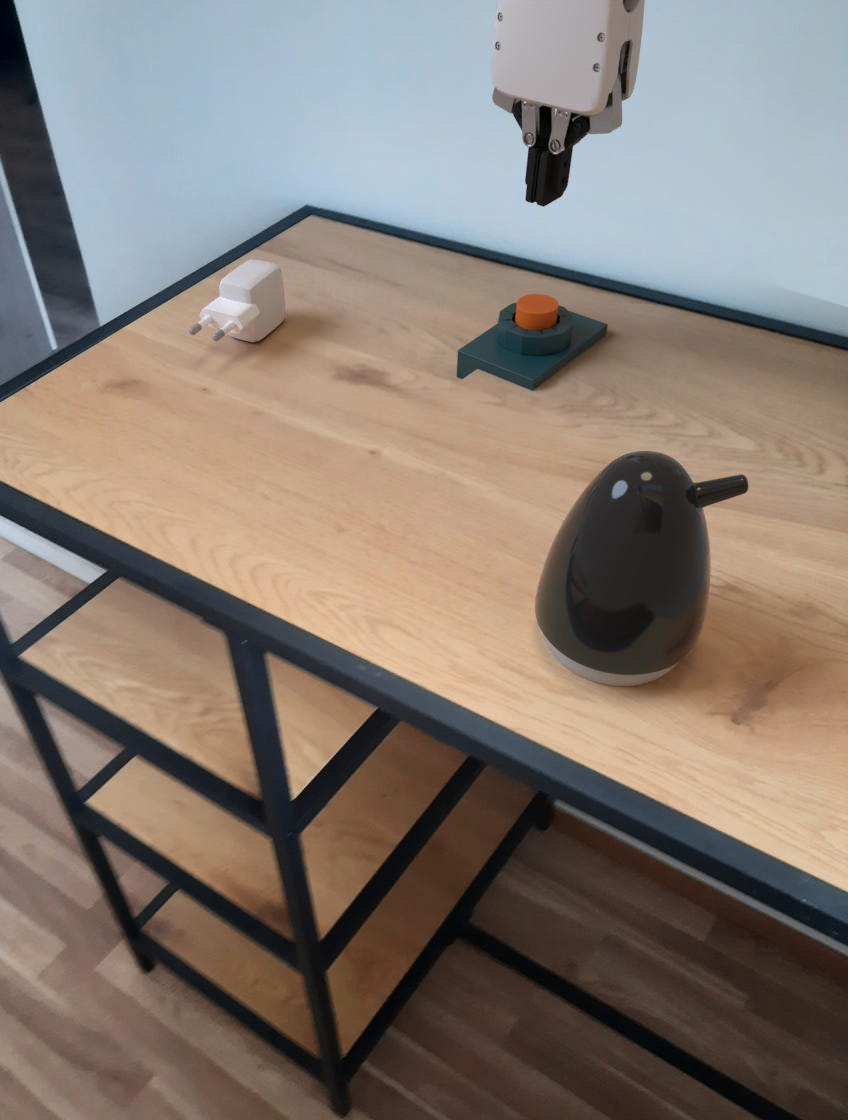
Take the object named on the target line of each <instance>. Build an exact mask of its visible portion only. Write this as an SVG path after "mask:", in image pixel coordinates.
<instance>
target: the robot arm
mask: <svg viewBox="0 0 848 1120" xmlns="http://www.w3.org/2000/svg"><path fill="white" fill-rule="evenodd" d="M645 2H646V0H497V5H496V11H495V19H494V25H493V35H492V46H491V59H490V76H491V78H490V79H491V83H492V85H493V86H494V88H493V92H492V95H491V98H492V102H493V104H494V105H495V106H497V107H499V108H500V109H502V110H503V111H506V112H507V113H509V114H512V116H513V118H514V119H515V122H516V123H517V125H518V127H519V128H520V130H521V135H522V136H521V139H522V143H523V144H524V146H526V147H527V148H528V150H527V158H526V169H525V178H524V182H525V185H526V187H525V188H526V189H525V202H527V203H530V204H534V203H536V205H537V206H540V207H544V208H545V207H546V206H547V205H550V204H551V203H552V202H554V201H557V200H558V199H560V198H561V197H563V196H564V193H565V191H566V190H567V188H568V185H569V180H570V172H571V167H572V166H571V164H572V157H573V150H574V147H575V146H576V145H577V144H579V143H580V142H581V141H582V139H584V138H585V137H587V136H588V135H603V134H604V135H605V134H611V133H612V132H614V131H616V130H618V129H620V128H621V126H622V125H623V102H624V101H626V100H627V99H629V98H630V97H632V95H633V92H634V90H635V85H636V82H637V75H638V70H639V62H640V54H641V46H642V37H643V28H644V27H643V26H644V18H645Z"/></svg>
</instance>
